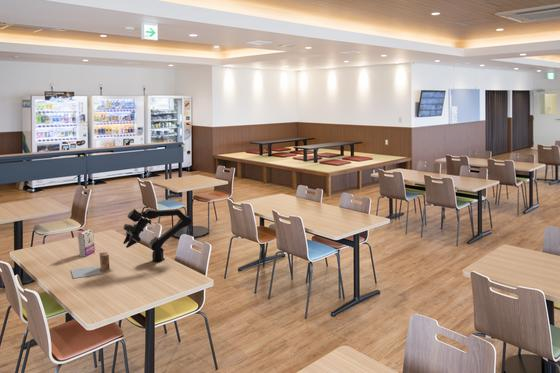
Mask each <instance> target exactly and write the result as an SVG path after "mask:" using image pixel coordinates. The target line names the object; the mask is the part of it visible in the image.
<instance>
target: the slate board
mask: <svg viewBox="0 0 560 373" xmlns="http://www.w3.org/2000/svg"><path fill="white" fill-rule="evenodd" d="M70 271H71V274H72V278H73V279H79V278H86V277H91V276H98V275H102V271H101V268H100V267H99V265H94V266H87V267H82V268H75V269H70Z"/></svg>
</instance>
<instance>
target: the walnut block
mask: <svg viewBox="0 0 560 373" xmlns="http://www.w3.org/2000/svg"><path fill="white" fill-rule="evenodd" d="M109 256H110V255H109V253H108V252H107V251H103V252H99V262H100V271H101V272H107V271H111V268H110V257H109Z"/></svg>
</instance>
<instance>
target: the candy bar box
mask: <svg viewBox="0 0 560 373" xmlns="http://www.w3.org/2000/svg"><path fill="white" fill-rule="evenodd" d="M77 239H78V242H77V243H78V249H79V250H78V251H79V257H82V258H84V257H85V258H86V257H88V256H90V255H92V254H93V253H95V252H96V251H95V250H96V249H95V239H94V230H93V229H85V230H83V231H81V232H79V233H77Z"/></svg>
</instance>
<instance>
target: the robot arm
mask: <svg viewBox="0 0 560 373" xmlns="http://www.w3.org/2000/svg"><path fill="white" fill-rule="evenodd" d="M170 216H171V217H173V216H174V217H175V216H177V217H178V218H179V219H178V221H177V222H176V223H175V225H173V226H172V227H170V228H169V229H168V230H167V231H165V232H164V233H163V234H162V235H160V236H159V237H157V236H154V237H153V238H152V239H151V240H150V242H149V245H148V246H149V248H150V249H151V250H152V254H151V256H152V260H151V262H155V263H162V261H165V260H166V258H164V257H165V256H164V249H163V245H164V244H165V243H166V241H168V240H169V239H170V238H172V237H173V236H174V235H175V234H176V233H178V232H179V231H180V230H181V229H184V228H186V227H188V226H190V225H191V224H192V219H191V217H189V216H188V215H185V213H183V212H182V211H181V210H180V209H179V208H175V209H174V208H173V209H160V210H159V209H154V208H146V209H145V210H144V211H142V212H139V211H137V209H135V208H133V210H131V211H130V212H129V213H128V215H127V218H128V219H129V220H130V221H132V222H134V224H133V225H132V224H128V223H124V225H123V230H125V234H126V235H125V238H124V240H123V244H124V245H126V246H125V248H126V249H127V248H128V249H129V248H130V247H131V246H133V245H136V244H137V243H140V242H141V236H140V234H141V233H142V232H144V229H145V228H146V227H147V225H148V224H149V225H152V220H154V219H156V218H160V217H170ZM135 223H136V224H135Z"/></svg>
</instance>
